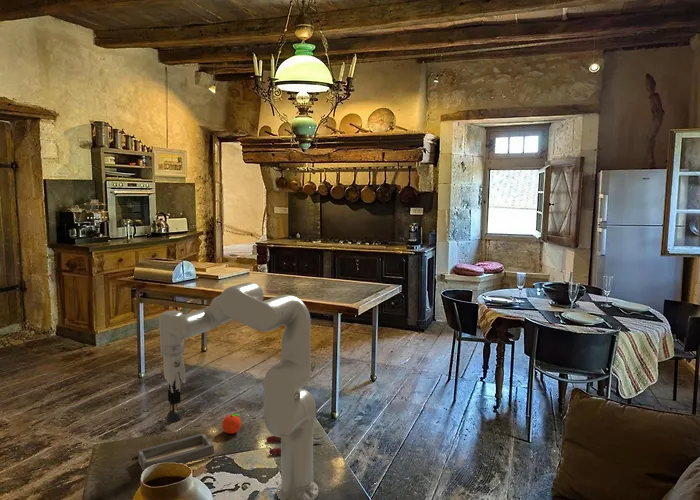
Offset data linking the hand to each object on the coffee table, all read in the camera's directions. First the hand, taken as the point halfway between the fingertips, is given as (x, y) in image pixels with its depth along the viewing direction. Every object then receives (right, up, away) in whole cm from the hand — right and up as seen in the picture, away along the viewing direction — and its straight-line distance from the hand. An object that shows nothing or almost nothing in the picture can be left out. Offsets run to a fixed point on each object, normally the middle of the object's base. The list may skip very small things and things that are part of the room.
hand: (174, 401), depth 165 cm
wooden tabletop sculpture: (0, -6, 0) cm, 6 cm away
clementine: (+15, -18, +21) cm, 32 cm away
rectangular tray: (0, -20, +2) cm, 20 cm away
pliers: (+39, -20, +10) cm, 45 cm away
